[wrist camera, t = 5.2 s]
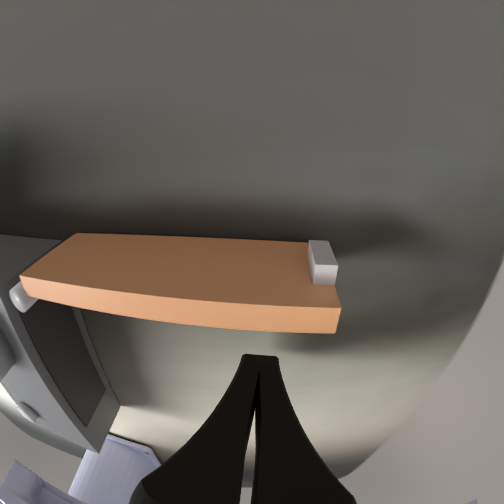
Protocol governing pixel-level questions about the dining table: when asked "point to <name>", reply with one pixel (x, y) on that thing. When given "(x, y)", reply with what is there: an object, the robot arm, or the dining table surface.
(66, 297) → the hatch
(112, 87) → the dining table surface
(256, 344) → the dining table surface
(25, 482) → the robot arm
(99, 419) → the housing
